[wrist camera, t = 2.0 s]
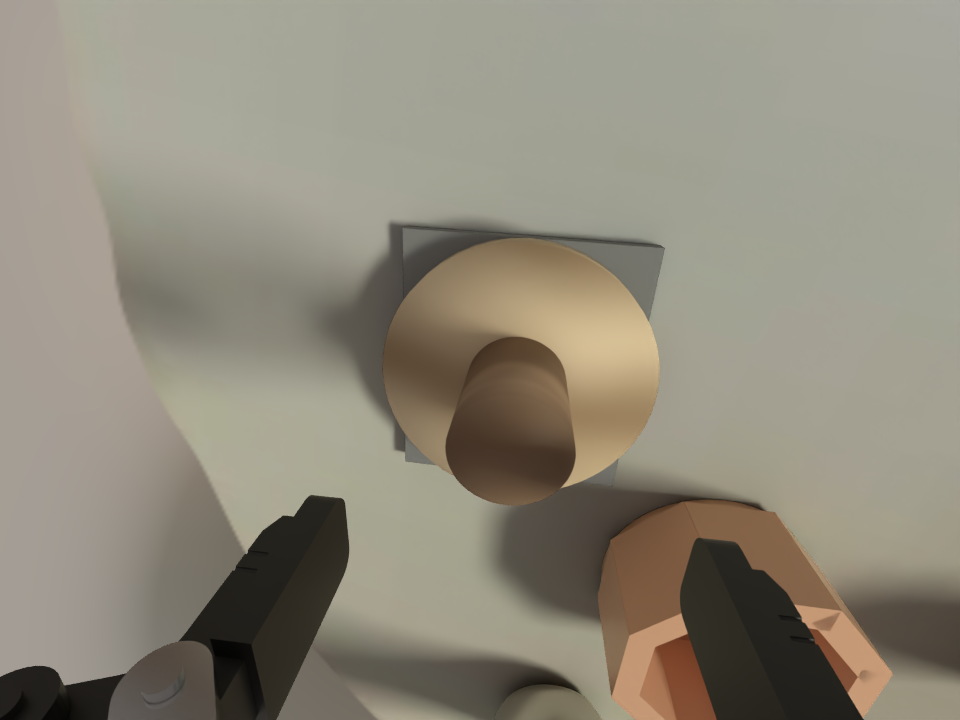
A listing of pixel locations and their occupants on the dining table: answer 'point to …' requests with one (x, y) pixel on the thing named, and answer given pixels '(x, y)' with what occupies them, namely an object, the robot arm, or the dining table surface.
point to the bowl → (658, 619)
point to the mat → (623, 259)
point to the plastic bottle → (546, 705)
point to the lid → (520, 368)
